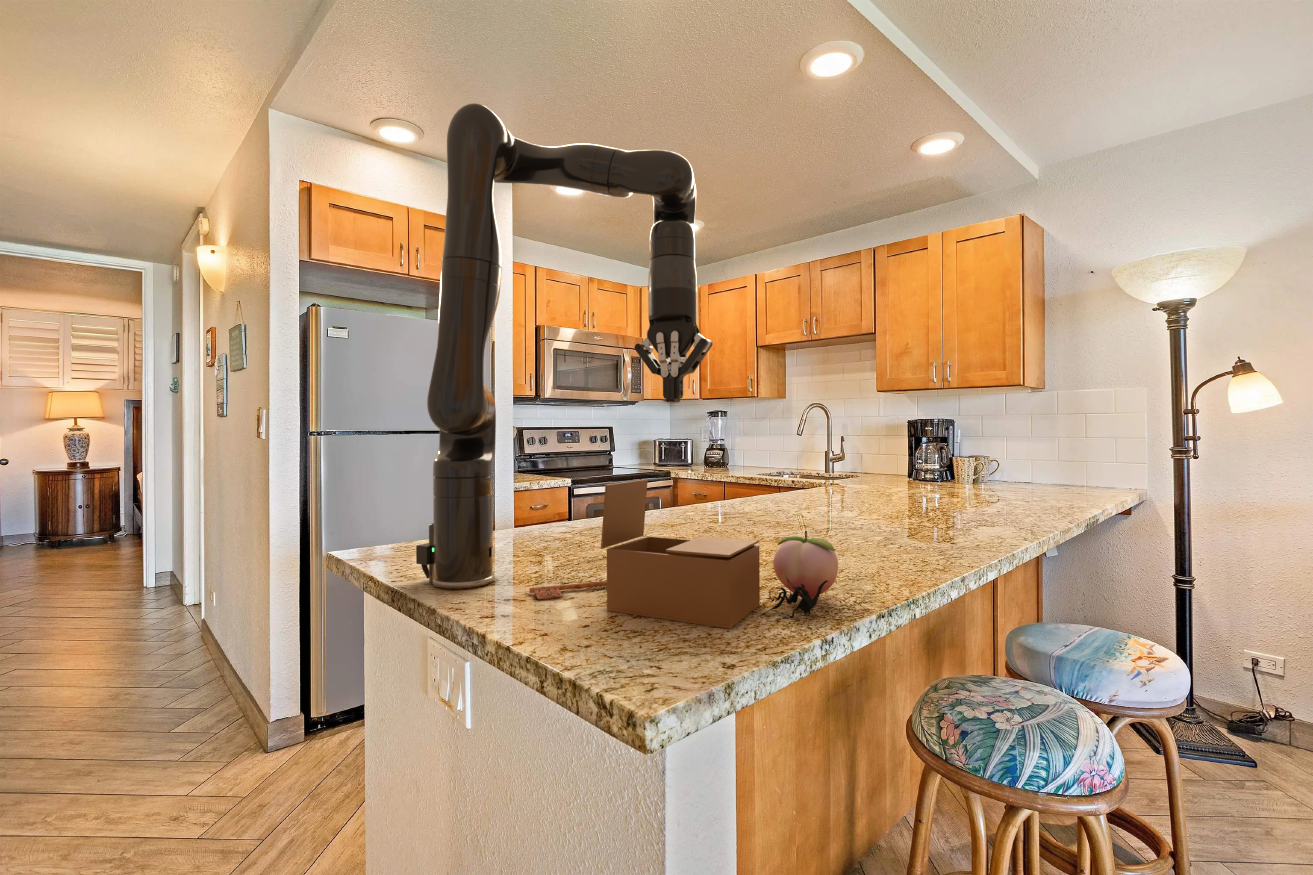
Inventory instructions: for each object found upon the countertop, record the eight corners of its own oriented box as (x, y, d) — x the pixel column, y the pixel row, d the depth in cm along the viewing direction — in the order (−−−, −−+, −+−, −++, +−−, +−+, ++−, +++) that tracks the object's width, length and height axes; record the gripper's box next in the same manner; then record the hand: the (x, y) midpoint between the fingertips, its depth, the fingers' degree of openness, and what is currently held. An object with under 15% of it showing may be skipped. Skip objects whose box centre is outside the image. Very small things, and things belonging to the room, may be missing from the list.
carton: (759, 605, 86) (759, 483, 86) (729, 628, 76) (729, 489, 76) (642, 590, 95) (641, 479, 95) (600, 609, 85) (600, 484, 84)
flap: (758, 542, 86) (758, 540, 86) (729, 557, 76) (729, 555, 76) (701, 538, 90) (701, 536, 90) (665, 551, 80) (665, 549, 80)
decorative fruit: (848, 598, 90) (848, 529, 90) (828, 611, 83) (828, 537, 83) (788, 588, 96) (787, 524, 96) (764, 600, 89) (764, 531, 89)
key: (533, 602, 89) (632, 592, 94) (533, 596, 89) (632, 586, 94) (527, 589, 95) (621, 580, 100) (527, 583, 95) (621, 574, 100)
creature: (753, 620, 83) (794, 621, 77) (747, 579, 84) (787, 577, 77) (795, 611, 87) (838, 611, 81) (789, 572, 88) (831, 570, 82)
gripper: (721, 290, 96) (721, 402, 96) (646, 299, 102) (646, 404, 102) (702, 280, 89) (702, 399, 89) (623, 290, 95) (623, 402, 96)
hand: (672, 402), depth 96 cm, fingers closed
